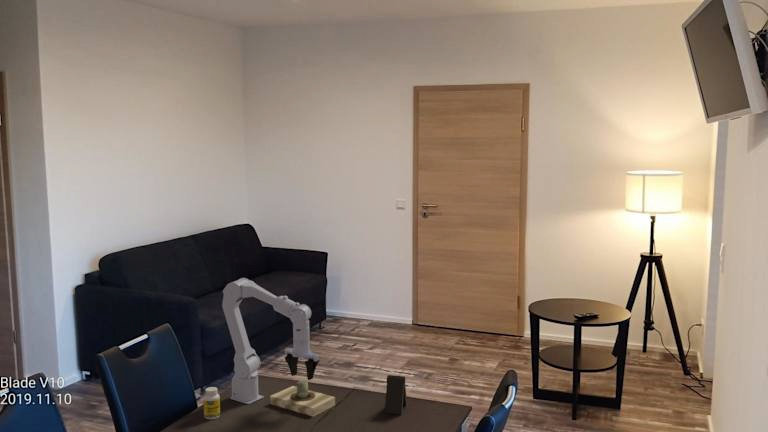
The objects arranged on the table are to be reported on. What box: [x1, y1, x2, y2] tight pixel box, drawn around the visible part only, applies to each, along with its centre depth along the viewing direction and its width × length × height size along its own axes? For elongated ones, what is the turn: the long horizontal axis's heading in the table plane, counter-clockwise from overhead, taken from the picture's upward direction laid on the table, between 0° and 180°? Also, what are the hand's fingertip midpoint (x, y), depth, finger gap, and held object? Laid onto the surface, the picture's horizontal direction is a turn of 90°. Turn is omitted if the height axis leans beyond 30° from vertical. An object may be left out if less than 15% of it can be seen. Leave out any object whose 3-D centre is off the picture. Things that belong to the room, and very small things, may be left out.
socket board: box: [269, 385, 336, 418], centre depth 239 cm, size 20×12×3 cm, turn 56°
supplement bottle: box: [203, 386, 221, 420], centre depth 228 cm, size 5×5×10 cm
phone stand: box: [384, 374, 408, 416], centre depth 234 cm, size 9×6×12 cm, turn 165°
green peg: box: [296, 380, 309, 399], centre depth 238 cm, size 4×4×8 cm
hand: (302, 377), depth 238 cm, fingers open, 7 cm apart
